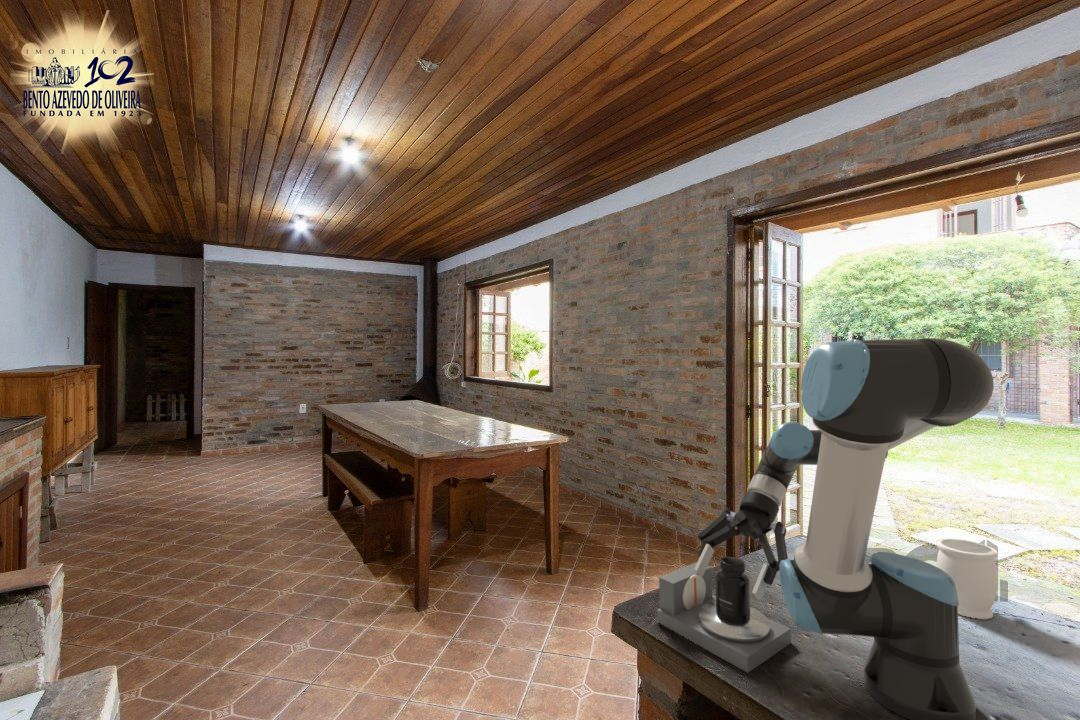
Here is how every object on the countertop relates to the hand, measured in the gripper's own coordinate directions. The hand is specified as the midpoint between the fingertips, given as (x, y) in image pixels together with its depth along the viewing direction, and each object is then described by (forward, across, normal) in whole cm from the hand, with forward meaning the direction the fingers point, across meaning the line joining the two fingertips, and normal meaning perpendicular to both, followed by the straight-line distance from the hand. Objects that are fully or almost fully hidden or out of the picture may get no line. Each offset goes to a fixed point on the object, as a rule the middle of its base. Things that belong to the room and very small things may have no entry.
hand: (725, 584), depth 99 cm
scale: (+7, +3, -10) cm, 13 cm away
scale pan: (+5, 0, -8) cm, 9 cm away
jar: (-30, -26, -48) cm, 62 cm away
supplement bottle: (+4, 0, -7) cm, 8 cm away
